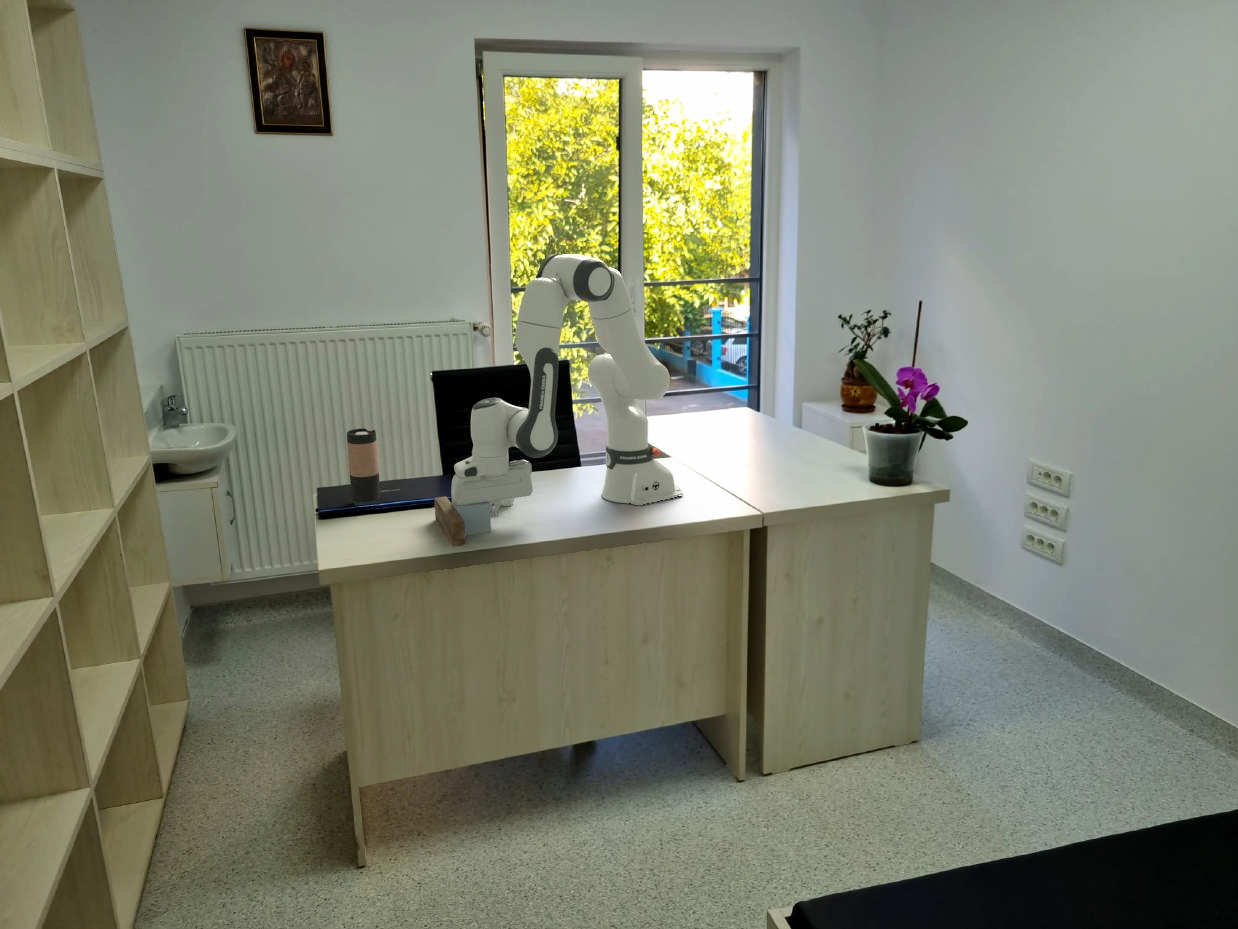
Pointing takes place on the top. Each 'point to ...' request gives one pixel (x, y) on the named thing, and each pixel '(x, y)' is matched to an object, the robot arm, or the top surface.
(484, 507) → the slate block
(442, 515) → the stop board
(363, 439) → the travel mug
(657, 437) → the top surface
